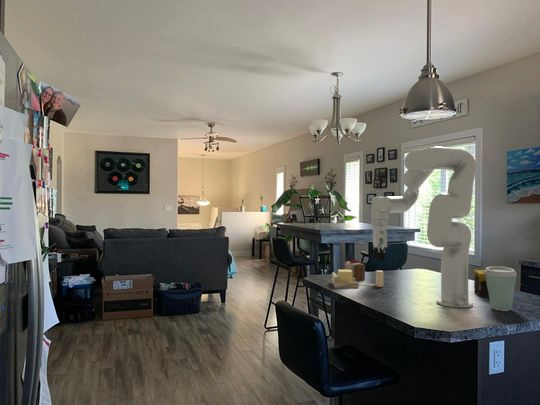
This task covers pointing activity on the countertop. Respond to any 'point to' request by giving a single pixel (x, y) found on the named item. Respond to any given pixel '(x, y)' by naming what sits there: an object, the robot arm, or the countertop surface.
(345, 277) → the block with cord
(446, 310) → the countertop surface
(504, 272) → the disposable coffee cup
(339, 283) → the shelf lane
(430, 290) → the countertop surface
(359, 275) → the food item
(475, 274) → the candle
